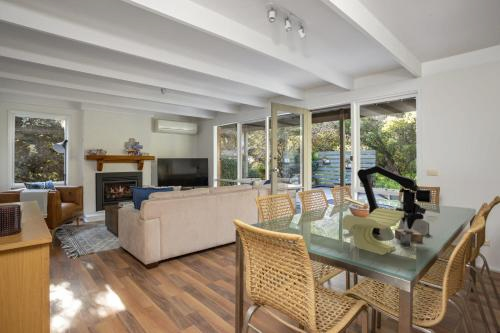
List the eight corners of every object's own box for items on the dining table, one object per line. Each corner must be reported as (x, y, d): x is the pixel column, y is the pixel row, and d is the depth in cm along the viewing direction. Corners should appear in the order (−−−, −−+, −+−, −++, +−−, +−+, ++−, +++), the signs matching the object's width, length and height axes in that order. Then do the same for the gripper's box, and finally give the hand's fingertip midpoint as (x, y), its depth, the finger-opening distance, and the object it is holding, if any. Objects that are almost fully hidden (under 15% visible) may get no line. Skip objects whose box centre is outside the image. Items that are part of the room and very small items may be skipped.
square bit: (406, 234, 148) (407, 218, 148) (404, 232, 151) (404, 217, 151) (412, 234, 148) (412, 218, 148) (409, 233, 151) (410, 217, 151)
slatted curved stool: (373, 238, 151) (374, 207, 150) (403, 245, 138) (404, 211, 137) (342, 249, 133) (342, 213, 132) (373, 259, 120) (373, 219, 119)
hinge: (396, 229, 169) (399, 214, 171) (399, 231, 172) (402, 216, 173) (426, 236, 155) (428, 219, 157) (429, 237, 158) (431, 220, 160)
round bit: (403, 246, 137) (403, 234, 137) (398, 243, 142) (399, 232, 142) (412, 246, 137) (412, 234, 137) (407, 243, 142) (408, 232, 141)
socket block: (403, 241, 145) (403, 234, 145) (394, 236, 155) (394, 229, 155) (422, 241, 145) (422, 234, 144) (412, 236, 155) (412, 229, 154)
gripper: (434, 203, 139) (433, 233, 140) (414, 198, 158) (414, 224, 159) (412, 203, 140) (411, 232, 141) (395, 198, 159) (394, 224, 159)
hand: (408, 228), depth 150 cm, fingers closed on square bit, 3 cm apart
